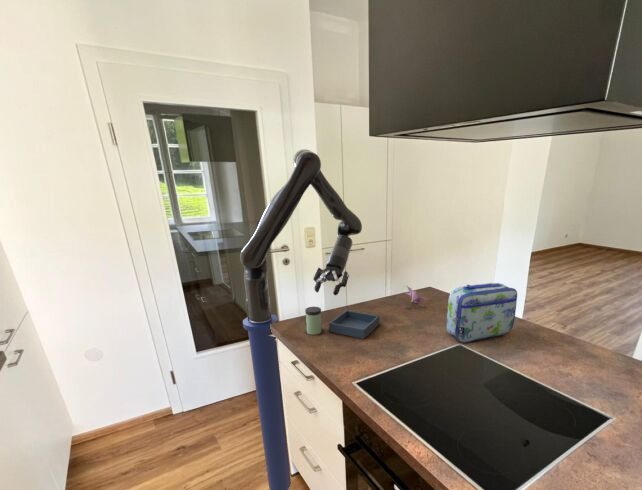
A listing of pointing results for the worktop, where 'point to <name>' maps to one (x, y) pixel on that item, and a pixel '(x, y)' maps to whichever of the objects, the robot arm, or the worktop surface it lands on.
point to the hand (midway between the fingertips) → (325, 292)
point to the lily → (415, 297)
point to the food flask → (313, 320)
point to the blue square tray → (354, 324)
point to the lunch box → (481, 311)
